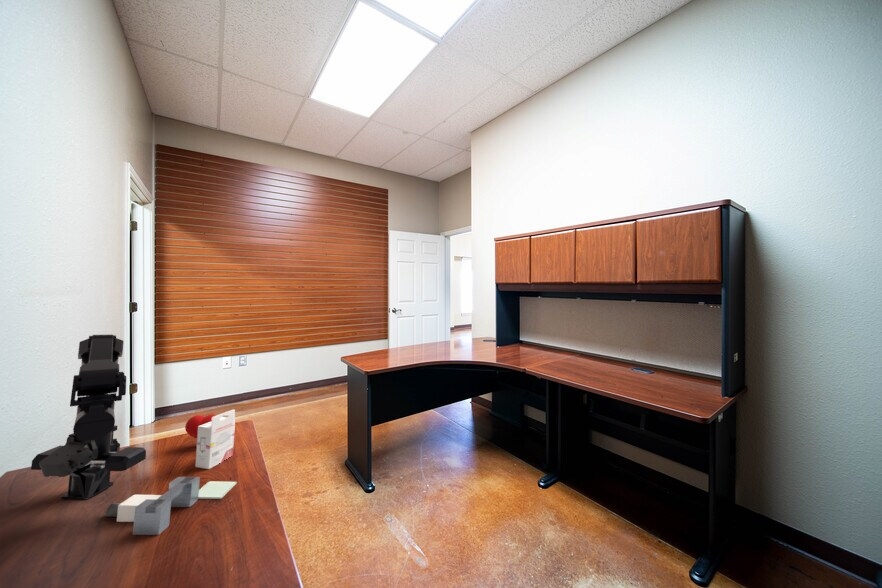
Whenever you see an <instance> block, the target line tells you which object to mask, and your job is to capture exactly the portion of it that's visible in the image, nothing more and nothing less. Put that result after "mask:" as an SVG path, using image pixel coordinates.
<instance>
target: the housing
mask: <svg viewBox="0 0 882 588" xmlns="http://www.w3.org/2000/svg"><path fill="white" fill-rule="evenodd" d="M200 479H201V476H177V477H176V478H174V479H173V480H172V481H170V482H169V483H168V491H166V492H165V493H163V494H161V495H162V496H160V497H159V498H158V499H146V500H145V501H144V502H142V503H141V504H139V505H138V506H137V507H135V515H134V522H133V529H132V535H133V536H135V535H137V536H140V535H141V536H145V535H146V536H147V535H148V536H151V535H152V536H158V535H160V534H161V533H163V531H165V530H166V529H167V528H168V527H169V526H170V520H171V519H170V518H171V508H191V507H192V506H193V505H194V504H196V502H198V500H199V499H198V494H199V490H200V482H201V480H200Z"/></svg>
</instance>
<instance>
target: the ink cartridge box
mask: <svg viewBox="0 0 882 588" xmlns="http://www.w3.org/2000/svg"><path fill="white" fill-rule="evenodd" d="M211 420H212V421H211V422H208V423H206V424H203V425H200V426H198V436H197V439H196V443H197V445H196V453H195V468H198V469H200V468H201V469H205V470H210V469H212V468H214V467H215V466H217V465H219V463H220V464H221V463H223V462H225V461H227V460H229V459H230V458H229V457H231V456H232V457H233V456H234V444H235V442H234V441H235V429H236V428H235V426H236V410H235V409H231V410H227V411H225V412H221V413H219V414H217V415H216V416H214V417H212V419H211ZM232 457H231V458H232ZM228 458H229V459H228ZM226 459H227V460H226ZM224 460H225V461H224Z"/></svg>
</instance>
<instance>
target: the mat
mask: <svg viewBox="0 0 882 588" xmlns="http://www.w3.org/2000/svg"><path fill="white" fill-rule="evenodd" d="M237 484H238V481H214V480H213V481H211V480H210V481H208V482H206V484H203V486H202V487H201V488H199V494H198V500H199V499H200V500H202V499H203V500H205V499H206V500H213V499H214V500H221V499H223V498H224V496H225V495H227V494H228V493H229V491H231V489H233V488H234V486H236V485H237Z"/></svg>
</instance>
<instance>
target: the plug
mask: <svg viewBox="0 0 882 588" xmlns="http://www.w3.org/2000/svg"><path fill="white" fill-rule="evenodd" d="M162 495H163V494H133V495H132V496H130V497H128V498H127V499H125V500H124V501H122V502H120V503H119V502H118V503H117V502H115V503H114V502H113V503H111V504H110V505H109V506H108V507H107V509H106V511H105V516H106V517H116V523H117V522H122V523H125V522H128V523H129V522H130V523H132V522H133V523H134V515H135V507H137V506H138V505H139V504H141V503H142V502H144V501H145V500H146V499H158V498H159V497H160V496H162Z"/></svg>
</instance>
